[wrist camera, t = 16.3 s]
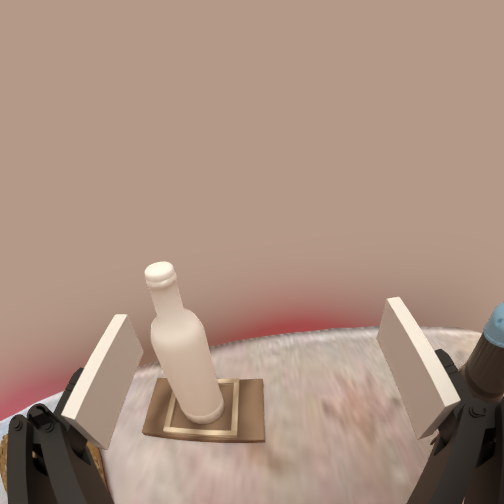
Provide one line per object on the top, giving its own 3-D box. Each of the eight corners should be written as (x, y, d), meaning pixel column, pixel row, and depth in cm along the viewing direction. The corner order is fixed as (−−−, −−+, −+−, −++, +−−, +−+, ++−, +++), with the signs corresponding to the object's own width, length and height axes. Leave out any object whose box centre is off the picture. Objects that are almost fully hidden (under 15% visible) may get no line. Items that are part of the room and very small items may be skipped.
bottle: (233, 412, 43) (202, 269, 30) (196, 432, 39) (135, 294, 26) (211, 385, 49) (175, 247, 36) (176, 402, 45) (121, 266, 32)
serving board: (262, 382, 50) (262, 375, 49) (264, 442, 38) (264, 437, 37) (159, 380, 51) (156, 374, 50) (144, 434, 38) (139, 429, 37)
